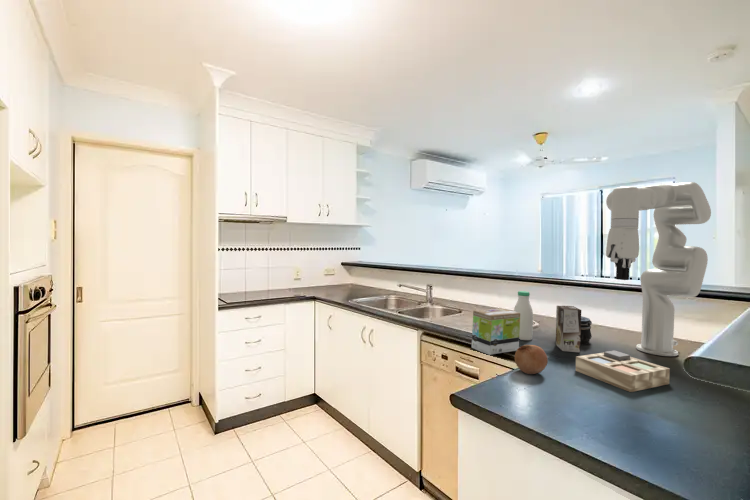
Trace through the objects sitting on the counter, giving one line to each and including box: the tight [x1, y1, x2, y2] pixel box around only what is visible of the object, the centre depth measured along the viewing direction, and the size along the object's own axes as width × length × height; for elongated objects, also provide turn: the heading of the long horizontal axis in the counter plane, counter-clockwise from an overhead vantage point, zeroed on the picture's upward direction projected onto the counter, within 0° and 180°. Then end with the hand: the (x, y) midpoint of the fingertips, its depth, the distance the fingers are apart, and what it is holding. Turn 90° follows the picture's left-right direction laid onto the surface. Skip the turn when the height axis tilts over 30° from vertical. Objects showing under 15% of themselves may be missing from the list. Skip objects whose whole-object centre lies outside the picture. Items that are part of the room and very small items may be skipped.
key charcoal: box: [603, 349, 631, 361], centre depth 113 cm, size 5×5×3 cm
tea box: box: [471, 307, 520, 356], centre depth 134 cm, size 15×10×15 cm, turn 117°
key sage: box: [631, 363, 653, 369], centre depth 106 cm, size 5×5×3 cm
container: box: [580, 315, 593, 346], centre depth 148 cm, size 13×13×10 cm
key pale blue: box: [591, 358, 611, 364], centre depth 111 cm, size 5×5×3 cm
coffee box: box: [555, 305, 582, 353], centre depth 137 cm, size 9×6×16 cm
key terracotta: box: [614, 366, 637, 372], centre depth 104 cm, size 5×5×3 cm
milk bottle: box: [513, 290, 534, 341], centre depth 151 cm, size 8×8×20 cm
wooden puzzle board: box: [575, 352, 671, 393], centre depth 108 cm, size 17×17×5 cm
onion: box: [514, 344, 549, 375], centre depth 111 cm, size 10×9×10 cm
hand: (622, 279), depth 118 cm, fingers closed
